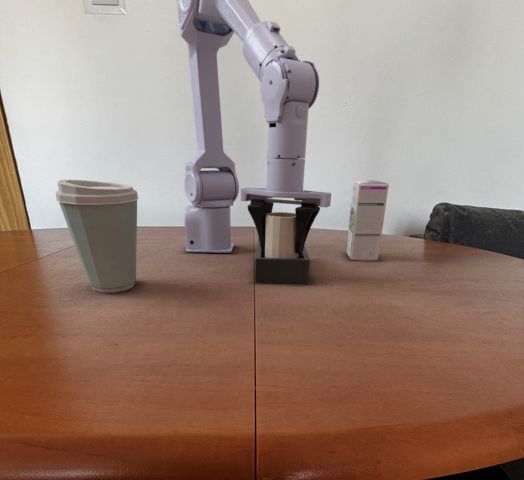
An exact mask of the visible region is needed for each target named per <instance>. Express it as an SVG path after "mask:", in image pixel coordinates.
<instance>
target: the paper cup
mask: <svg viewBox="0 0 524 480" xmlns="http://www.w3.org/2000/svg"><path fill="white" fill-rule="evenodd" d="M296 232H297V229H296V212H287V211H279V212H278V211H274V212H273V211H272V213H267V214H266V232H265V258H298V255H299V253H295V243H296Z"/></svg>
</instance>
